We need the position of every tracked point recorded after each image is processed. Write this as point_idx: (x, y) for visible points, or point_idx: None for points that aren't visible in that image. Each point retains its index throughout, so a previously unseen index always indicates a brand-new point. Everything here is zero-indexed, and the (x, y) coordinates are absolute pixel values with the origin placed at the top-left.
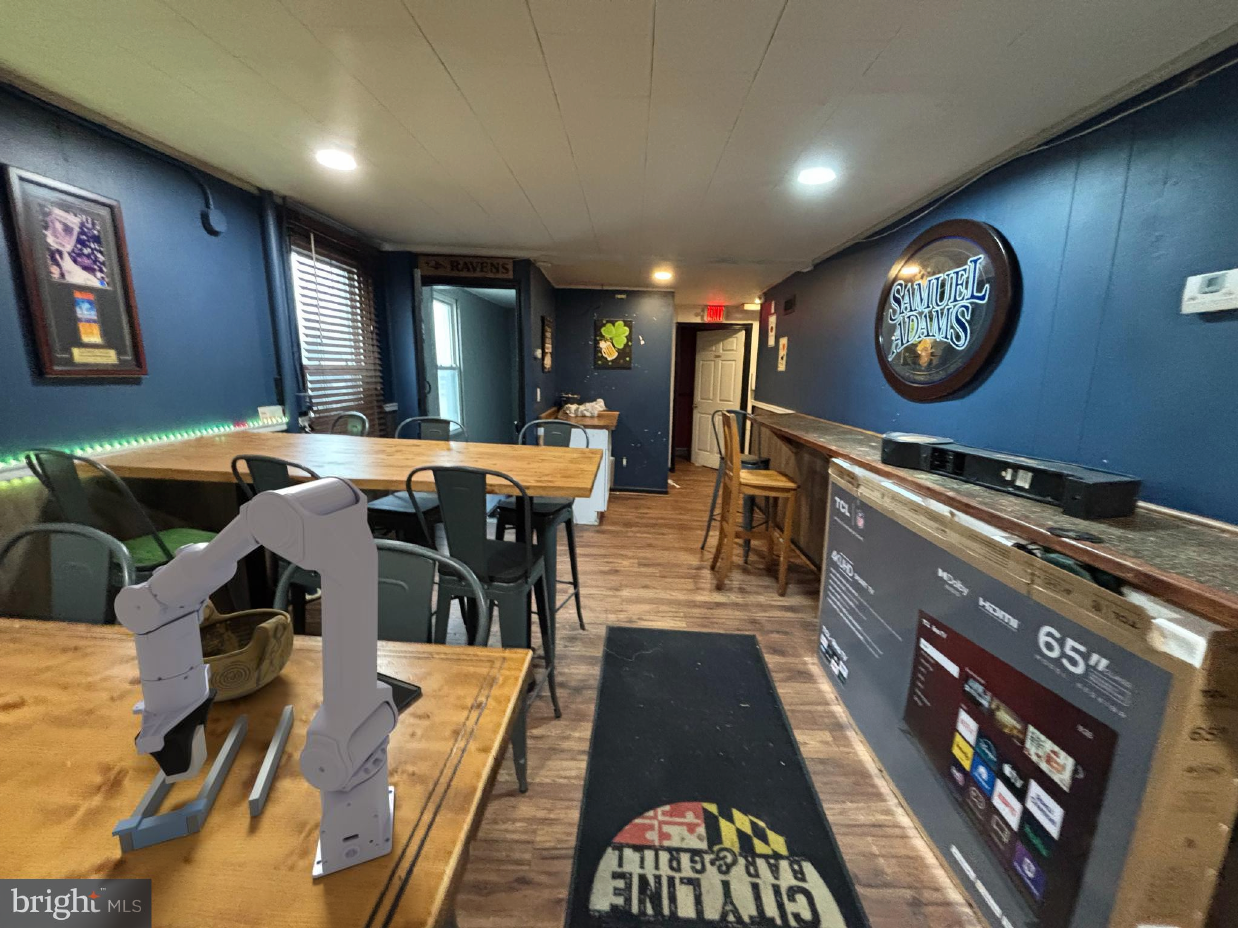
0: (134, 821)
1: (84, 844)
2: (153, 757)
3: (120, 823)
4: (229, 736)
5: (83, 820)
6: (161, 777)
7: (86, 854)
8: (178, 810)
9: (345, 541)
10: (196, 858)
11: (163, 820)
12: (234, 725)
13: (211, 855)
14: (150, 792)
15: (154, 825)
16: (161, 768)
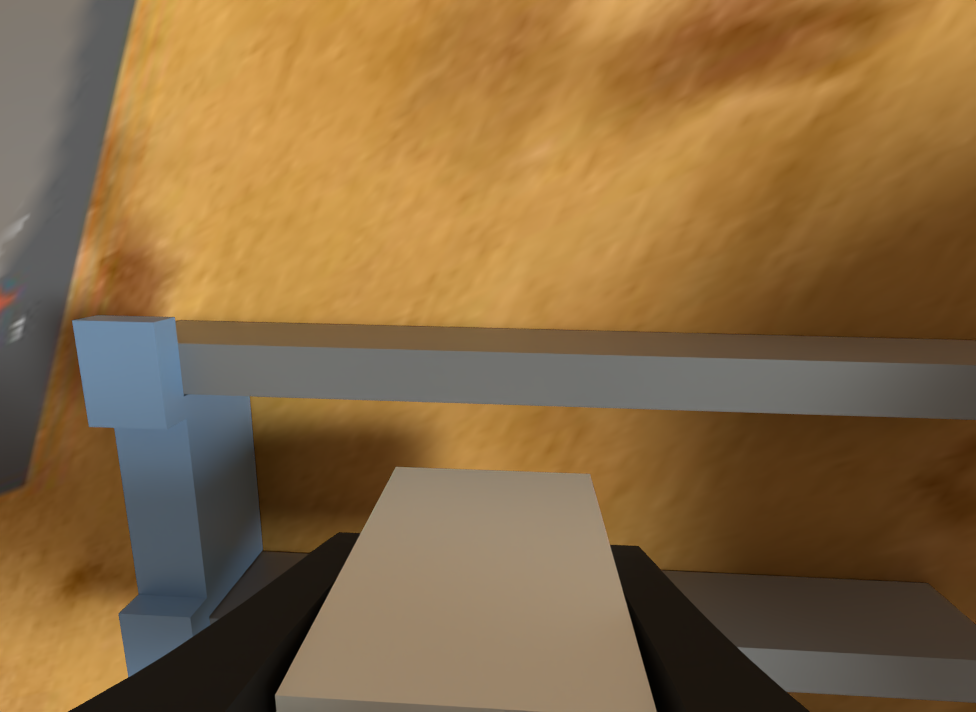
0: (124, 408)
1: (289, 117)
2: (122, 681)
3: (129, 338)
4: (783, 654)
5: (474, 15)
6: (524, 386)
7: (220, 162)
8: (201, 565)
9: None
10: (79, 606)
11: (149, 519)
12: (901, 661)
13: (79, 650)
14: (397, 376)
15: (128, 488)
16: (296, 563)
